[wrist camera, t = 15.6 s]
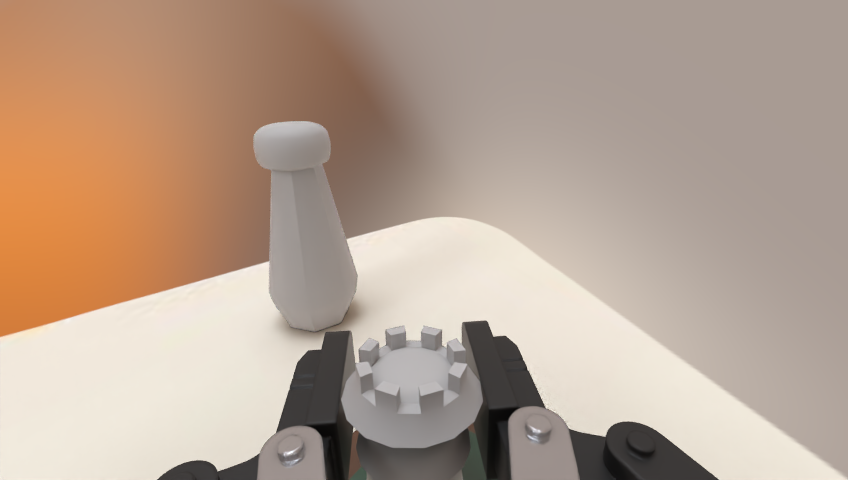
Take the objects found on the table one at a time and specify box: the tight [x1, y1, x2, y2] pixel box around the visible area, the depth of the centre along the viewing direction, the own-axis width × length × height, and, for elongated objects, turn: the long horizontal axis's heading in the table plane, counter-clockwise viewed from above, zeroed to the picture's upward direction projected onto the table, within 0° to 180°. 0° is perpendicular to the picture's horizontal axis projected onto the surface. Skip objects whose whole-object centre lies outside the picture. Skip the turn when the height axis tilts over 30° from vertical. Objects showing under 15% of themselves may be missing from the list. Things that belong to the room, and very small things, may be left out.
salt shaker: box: [254, 121, 358, 332], centre depth 27 cm, size 6×6×13 cm
